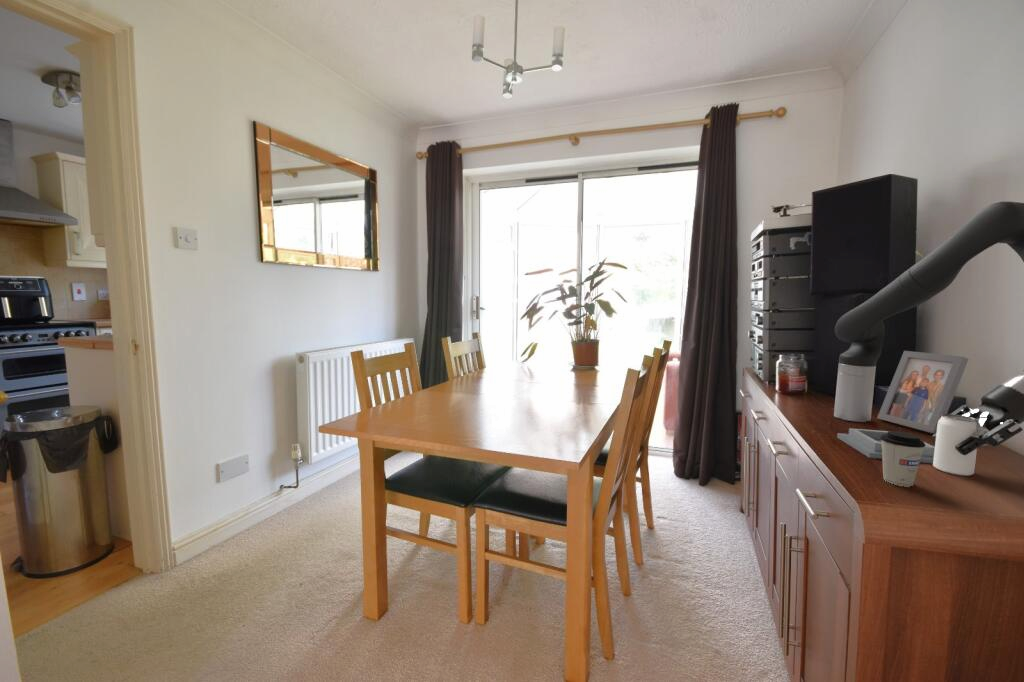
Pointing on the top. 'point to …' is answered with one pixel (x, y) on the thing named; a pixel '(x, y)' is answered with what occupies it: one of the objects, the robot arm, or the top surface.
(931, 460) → the can dock
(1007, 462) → the top surface
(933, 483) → the top surface
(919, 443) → the coffee cup
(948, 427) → the can
